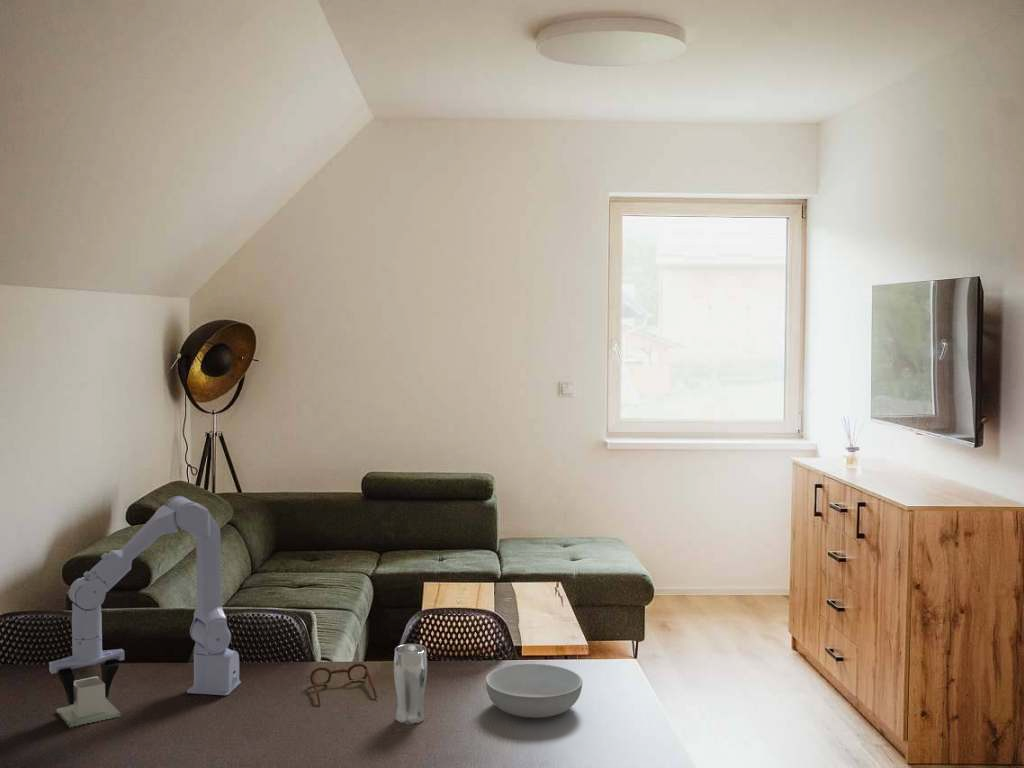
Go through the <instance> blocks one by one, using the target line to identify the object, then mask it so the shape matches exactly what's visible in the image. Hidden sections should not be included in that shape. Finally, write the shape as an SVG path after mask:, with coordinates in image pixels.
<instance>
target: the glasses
mask: <svg viewBox="0 0 1024 768" xmlns="http://www.w3.org/2000/svg"><path fill="white" fill-rule="evenodd" d="M356 667H362V668H363V669H364V670H365V672H364V675H363V676H362V678H360V679H365V680H366V679H368V682H369V684H370V686H371V690H372V692H373V695H374V699H375V698H378V694H377V693H376V690H375V685H374V684H373V681H372V678H371V675H370V672H369V670H368V666H367V665H365V664H364V663H360V662H359V663H354V664H352V665H351V666H350V667H348V669H346V668H343V669H340V668H339V669H334V670H332V671H331V670H330V669H329V668H328V667H324V666H319V667H317V668H314V669H313V670H312V671H311V673H310V675H309V676H310V678H309V680H310V683H311V684H312V686H313V687H314V692H315V694H316V697H317V703H318V706H319V705H321V701H320V695H319V690H318V688H317V687H318V686H316V685H317V684H318V683H316V680H315V677H314V675H315V674H316V673H317V672H319V671H325V672H327V673H328V677H327V680H326V681H324V682H322V683H320V684H325V683H328V684H329V683H330V682H331V679H332V675H333V674H334V675H335V674H340V673H341V674H342V673H347V674H346V675H347V678H348V681H350V680H355V679H354V678H352V677H351V671H352V670H353V669H354V668H356Z"/></svg>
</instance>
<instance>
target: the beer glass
mask: <svg viewBox="0 0 1024 768" xmlns="http://www.w3.org/2000/svg"><path fill="white" fill-rule="evenodd" d="M427 676H428V656H427V647H426V646H425V645H422V644H418V643H405V644H400V645H398V646H396V647H395V648H394V658H393V677H394V685H395V693H396V699H397V709H396V714H395V721H396V720H397V721H399V722H401V723H408V724H410V725H413V724H412V723H417V722H420V723H422V722H424V721H425V719H426V715H425V710H424V695H425V690H426V685H427V678H428V677H427ZM423 720H424V721H423ZM397 721H396V722H397ZM421 721H422V722H421ZM399 722H398V723H399ZM401 723H400V724H401ZM408 724H407V725H408Z"/></svg>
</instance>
